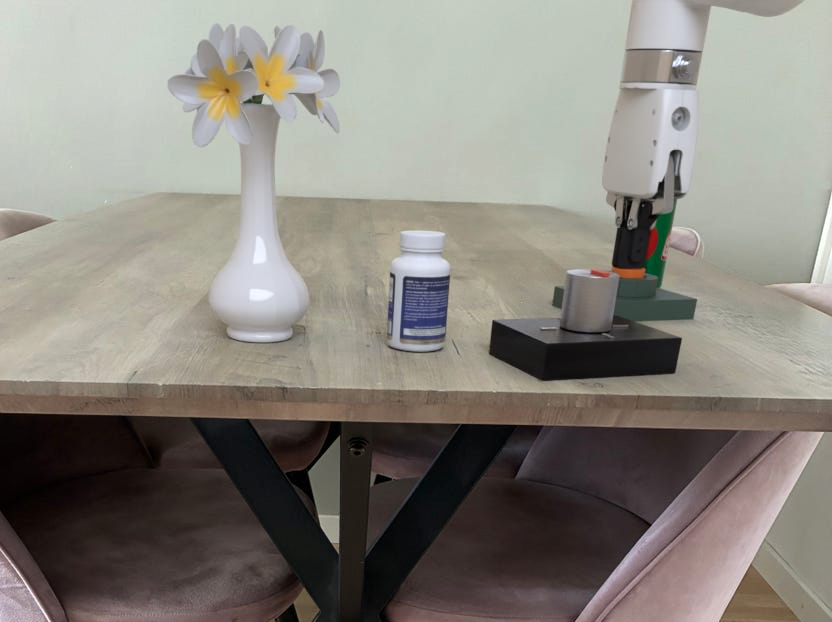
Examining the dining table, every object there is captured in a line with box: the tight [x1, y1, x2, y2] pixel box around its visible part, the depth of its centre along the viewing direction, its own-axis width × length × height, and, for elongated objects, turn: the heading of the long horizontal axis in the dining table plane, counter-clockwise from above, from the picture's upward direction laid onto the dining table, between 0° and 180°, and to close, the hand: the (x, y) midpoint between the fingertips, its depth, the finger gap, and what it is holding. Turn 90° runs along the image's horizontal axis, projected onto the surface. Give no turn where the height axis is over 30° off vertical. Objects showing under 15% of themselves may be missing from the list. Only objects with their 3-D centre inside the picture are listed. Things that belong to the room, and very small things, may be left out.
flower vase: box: [167, 22, 341, 344], centre depth 83 cm, size 13×18×25 cm
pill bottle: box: [386, 229, 451, 353], centre depth 86 cm, size 5×5×10 cm
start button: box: [610, 265, 645, 278], centre depth 105 cm, size 4×4×2 cm
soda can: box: [643, 199, 678, 289], centre depth 119 cm, size 5×5×12 cm
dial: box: [560, 268, 619, 333], centre depth 82 cm, size 4×4×5 cm
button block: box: [551, 270, 698, 322], centre depth 106 cm, size 12×10×4 cm
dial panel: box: [488, 316, 683, 382], centre depth 83 cm, size 13×10×3 cm
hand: (627, 267), depth 105 cm, fingers closed
